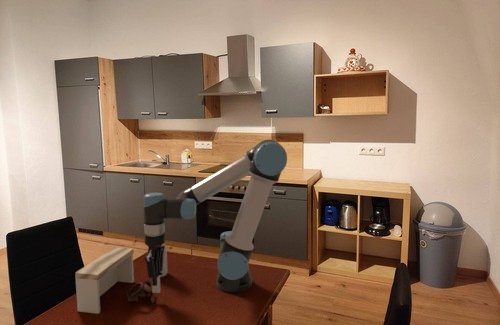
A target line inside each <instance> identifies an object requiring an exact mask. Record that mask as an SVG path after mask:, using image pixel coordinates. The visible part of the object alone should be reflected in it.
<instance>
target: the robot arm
mask: <svg viewBox="0 0 500 325" xmlns="http://www.w3.org/2000/svg"><path fill="white" fill-rule="evenodd" d="M287 154H288V153H287V152H286V150H285V148H284V147H283V145H282V144H281V143H279V142H278V141H276V140H273V139H264V140H262V141H260V142H259V143H257V144H256V145H255V146H254V147H252V148H251V149H249V150H247V151H246V152H244V155H243V156H242V157H240V158H239V159H237V160H235V161H233V162H232V163H230V164H229V165H227V166H225V167H223V168H221V169H219V170H218V171H217V172H215V173H213V174H211V175H209V176H208V177H206V178H204V179H203V180H200V182H197V183H196V184H194V185H192V186H191V187H188V188H187V189H184V190H182V191H181V192H179V193H178V195H177V196H176V198H165V196H164V193H162V192H149V193H146V194H144V196H143V206H142V207H143V228H144V229H143V230H144V245H145V246H147V248H148V249H147V253H148V255H145V257H144V260H145V263H146V270H147V275H148V278H149V279H150V278H151V290H152V293H153V294H155V293H156V294H159V293H161V277H160V275H162V273H161V271H162V270H163V256H164V248H165V246H166V245H165V246H162V244H165V242H166V238H165V237H166V236H165V235H166V234H165V232H166V227H165V226H166V224H165V219H166V220H167V219H168V220H169V219H172V220H177V219H178V220H191V219H195V218H196V214H197V205H199V204H200V203H202V202H204V201H206V200H207V199H209V198H211V197H213V196H215V195H217V194H218V193H219V192H221V191H224V190H225V189H227V188H229V187H230V186H232V185H233V184H235V183H237V182H239V181H241V180H242V179H244V178H246V177H248V176H250V178H249V181H248V185H247V187H246V190H245V193H244V196H243V199H242V200H241V204H240V207H239V210H238V212H237V215H236V218H235V221H234V223H233V225H232V226H233V227H232V230H230V231H224V232H221V234H220V238H219V240H220V244H219V245H220V248H219V253H218V258H217V261H216V265H217V266H216V267H217V269H218V270H217V271H218V274H217V278H216V287H217V289H219V290H220V291H222V292H227V293H243V292H245V291H248V290H249V289H251V287H253V277H252V275H251V271H250V269H249V266H250V264H249V262H250V260H251V257H252V254H253V251H254V249H255V246H254V244H253V239H254V237H255V234H256V231H257V228H258V226H259V223H260V221H261V218H262V214H263V212H264V210H265V206H266V203H267V201H268V198H269V195H270V192H271V190H272V186H273V185H274V184H276V183H278V182H279V180H280V177H281V175H282V172H283V171H284V170H285V168H286V167H287V162H288V155H287Z"/></svg>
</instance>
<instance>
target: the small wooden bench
mask: <svg viewBox="0 0 500 325" xmlns="http://www.w3.org/2000/svg"><path fill="white" fill-rule="evenodd" d="M134 252H135V251H134V248H131V247H130V248H129V247H118V246H116V247H113V248H110V249H109V250H108V251H107V252H105V253H103V254H102V255H100V256H99V257H97V258H96V259H94V260H93V261H92V262H90V263H88V264H87V265H85V266H83V267H82V268H80V269H78V270H77V271H76V272H74V273H75V274H74V275H75V278H74V279H75V290H76V292H75V293H76V306H77V307H76V308H77V312H80V313H91V314H97V315H98V314H100V313H101V299H100V297H101V296H102V295H103V294H105V293H106V292H107V291H108V290H110V288H112V287H114V285H115V284H117V283H119V282H120V283H129V284H130V283H131V284H133V283H134V282H135V278H134V276H135V273H134Z"/></svg>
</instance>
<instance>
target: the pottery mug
mask: <svg viewBox="0 0 500 325" xmlns="http://www.w3.org/2000/svg"><path fill="white" fill-rule="evenodd" d="M138 288H139V289H138ZM136 289H138V290H137V291H135V290H136ZM134 291H135V292H134ZM133 292H134V293H133ZM149 294H150V298H149V300H150V302H151V303H152V304H154V302H155V300H156V298H155V295H154V294H155V293H152V282H151V281H149V280H148V279H146V280H144V281H143V282H142V281H141V282H137V283H135V284H133V285H132V286H131V287H130V288H129V290H128V291H127V293H126V297H127V301H128V302H129V303H130V302H134V301H135V302H138V301H139V298H138V297H145V296H146V295H149Z"/></svg>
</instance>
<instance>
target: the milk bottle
mask: <svg viewBox="0 0 500 325" xmlns="http://www.w3.org/2000/svg"><path fill="white" fill-rule="evenodd" d="M162 246H165V248H164V256H163V270H162V271H161V273H162V275H160V278H163V277H165V276H167V274H168V254H167V252H168V251H167V250H168V249H167V247H166V246H167V245H166V244H165V243H164V244H162Z"/></svg>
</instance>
